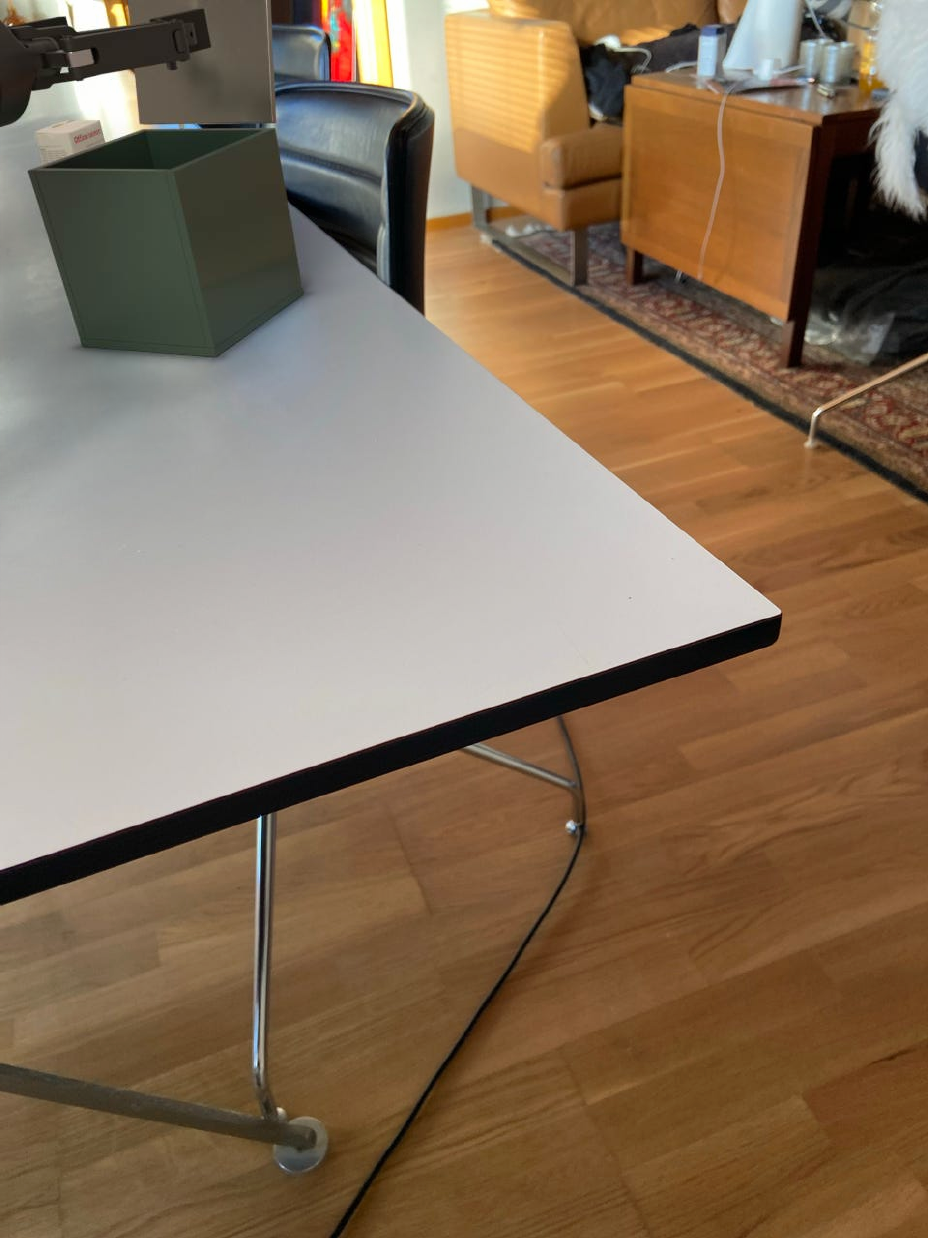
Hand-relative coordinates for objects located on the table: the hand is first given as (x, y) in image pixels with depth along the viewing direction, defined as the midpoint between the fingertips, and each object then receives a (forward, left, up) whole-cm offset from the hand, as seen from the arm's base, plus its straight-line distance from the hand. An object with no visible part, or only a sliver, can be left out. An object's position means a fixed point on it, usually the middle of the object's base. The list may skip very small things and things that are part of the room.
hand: (134, 31), depth 82 cm
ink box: (-35, +29, -24) cm, 52 cm away
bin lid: (0, +9, 0) cm, 9 cm away
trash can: (0, -1, -24) cm, 24 cm away
